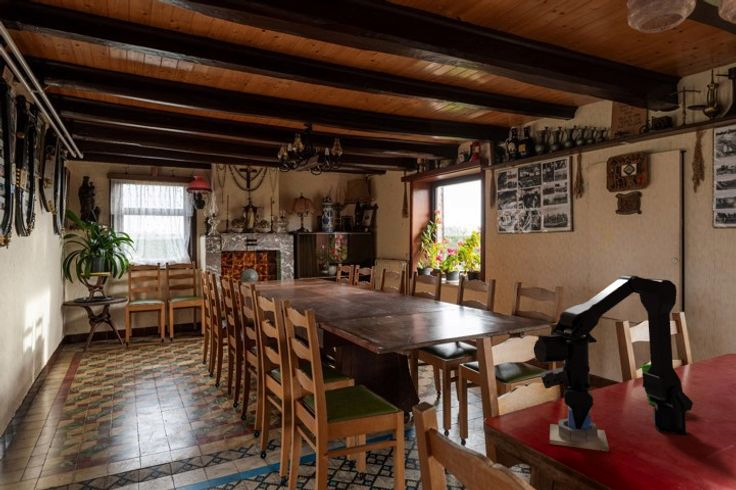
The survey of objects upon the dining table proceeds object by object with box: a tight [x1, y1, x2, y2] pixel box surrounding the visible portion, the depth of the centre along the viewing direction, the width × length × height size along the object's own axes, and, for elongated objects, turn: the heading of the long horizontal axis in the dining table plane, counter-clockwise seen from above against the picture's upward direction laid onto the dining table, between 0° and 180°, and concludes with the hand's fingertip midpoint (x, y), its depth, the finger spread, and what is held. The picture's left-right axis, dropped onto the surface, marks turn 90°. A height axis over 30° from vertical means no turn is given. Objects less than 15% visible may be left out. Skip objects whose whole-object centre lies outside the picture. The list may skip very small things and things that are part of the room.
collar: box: [549, 417, 610, 452], centre depth 118 cm, size 13×11×4 cm
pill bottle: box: [567, 405, 592, 430], centre depth 118 cm, size 6×5×10 cm
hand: (577, 422), depth 118 cm, fingers open, 9 cm apart
